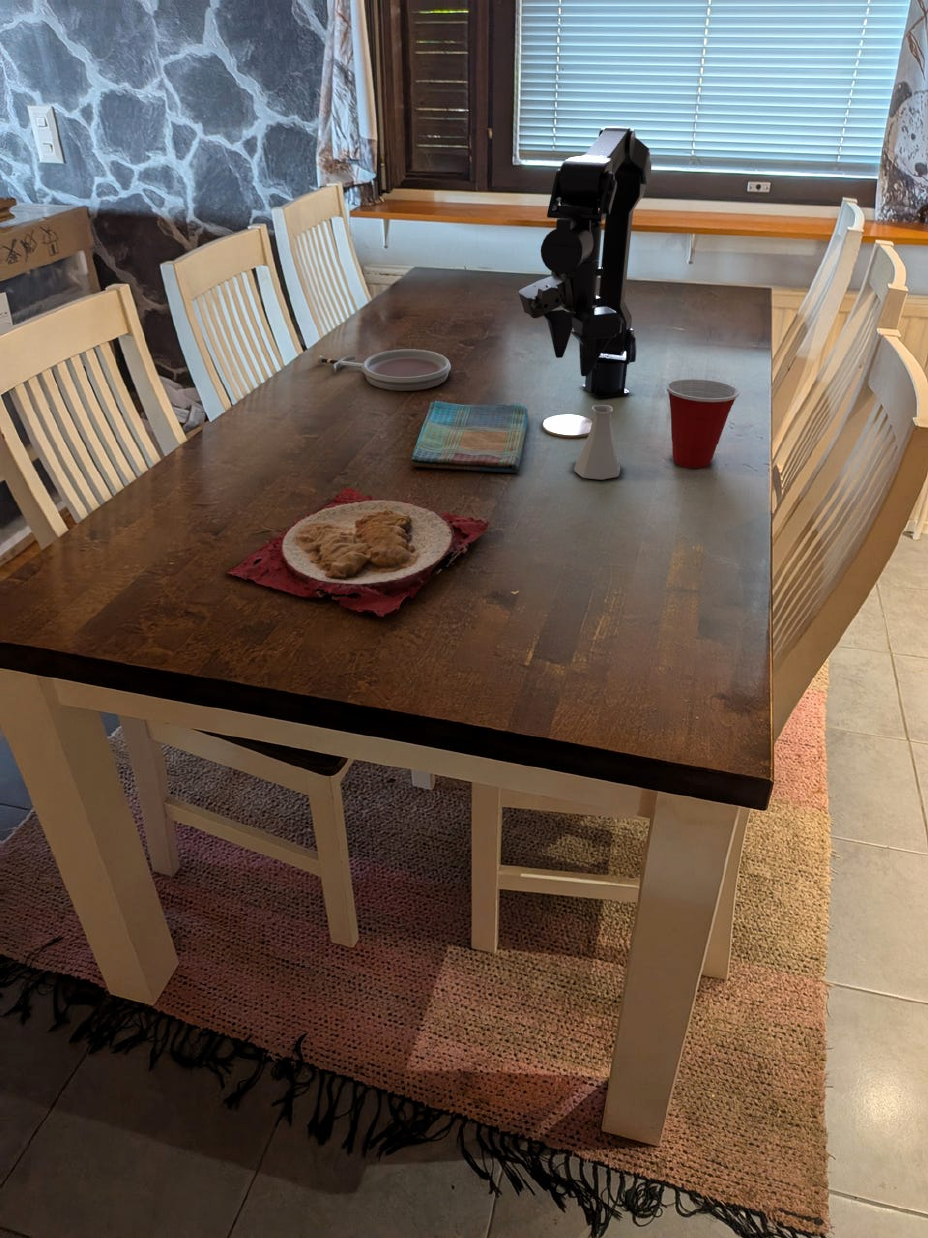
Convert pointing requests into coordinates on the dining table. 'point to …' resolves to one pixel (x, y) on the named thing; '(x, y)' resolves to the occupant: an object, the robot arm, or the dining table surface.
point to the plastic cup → (698, 418)
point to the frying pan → (400, 369)
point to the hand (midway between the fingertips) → (571, 366)
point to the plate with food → (361, 551)
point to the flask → (599, 448)
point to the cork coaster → (568, 426)
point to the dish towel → (472, 437)
